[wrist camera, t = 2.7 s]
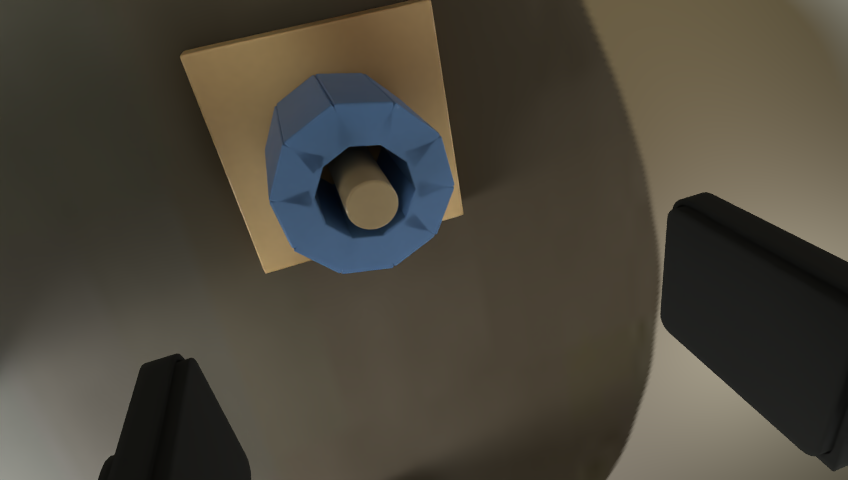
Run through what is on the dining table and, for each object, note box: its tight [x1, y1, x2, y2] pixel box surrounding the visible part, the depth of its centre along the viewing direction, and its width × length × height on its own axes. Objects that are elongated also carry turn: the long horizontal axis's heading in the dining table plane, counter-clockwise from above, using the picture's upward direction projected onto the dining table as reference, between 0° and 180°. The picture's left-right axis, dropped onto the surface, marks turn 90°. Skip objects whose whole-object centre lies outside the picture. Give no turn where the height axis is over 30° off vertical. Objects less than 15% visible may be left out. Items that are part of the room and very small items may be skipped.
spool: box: [265, 73, 454, 274], centre depth 18 cm, size 6×6×5 cm
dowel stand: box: [180, 0, 463, 273], centre depth 18 cm, size 9×9×7 cm
